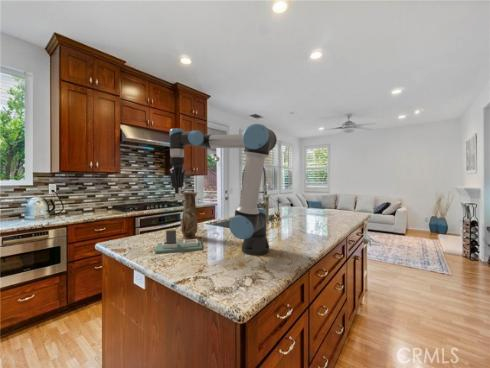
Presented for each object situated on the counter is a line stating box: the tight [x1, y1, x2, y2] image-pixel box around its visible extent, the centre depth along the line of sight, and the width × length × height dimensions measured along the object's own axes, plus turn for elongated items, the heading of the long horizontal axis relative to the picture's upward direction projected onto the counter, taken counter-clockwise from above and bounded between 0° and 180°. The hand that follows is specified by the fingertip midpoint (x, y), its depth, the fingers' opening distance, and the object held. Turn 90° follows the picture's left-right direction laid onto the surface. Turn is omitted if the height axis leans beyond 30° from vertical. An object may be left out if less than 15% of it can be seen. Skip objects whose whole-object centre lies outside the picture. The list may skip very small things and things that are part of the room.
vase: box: [180, 191, 199, 240], centre depth 150 cm, size 10×11×30 cm
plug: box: [165, 228, 177, 244], centre depth 128 cm, size 5×4×9 cm
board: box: [154, 238, 203, 254], centre depth 129 cm, size 24×14×3 cm, turn 105°
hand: (178, 199), depth 129 cm, fingers closed
